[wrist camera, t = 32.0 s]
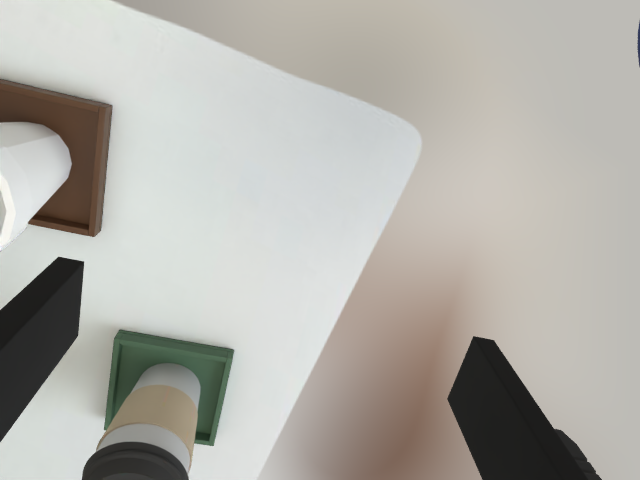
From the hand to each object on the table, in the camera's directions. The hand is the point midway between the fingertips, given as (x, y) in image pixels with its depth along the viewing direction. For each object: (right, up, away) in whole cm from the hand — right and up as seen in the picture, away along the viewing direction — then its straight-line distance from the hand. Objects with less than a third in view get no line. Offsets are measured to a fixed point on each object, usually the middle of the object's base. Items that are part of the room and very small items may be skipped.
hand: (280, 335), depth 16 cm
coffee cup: (-15, -13, +38) cm, 43 cm away
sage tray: (-15, -13, +39) cm, 44 cm away
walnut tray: (-24, +11, +28) cm, 39 cm away
